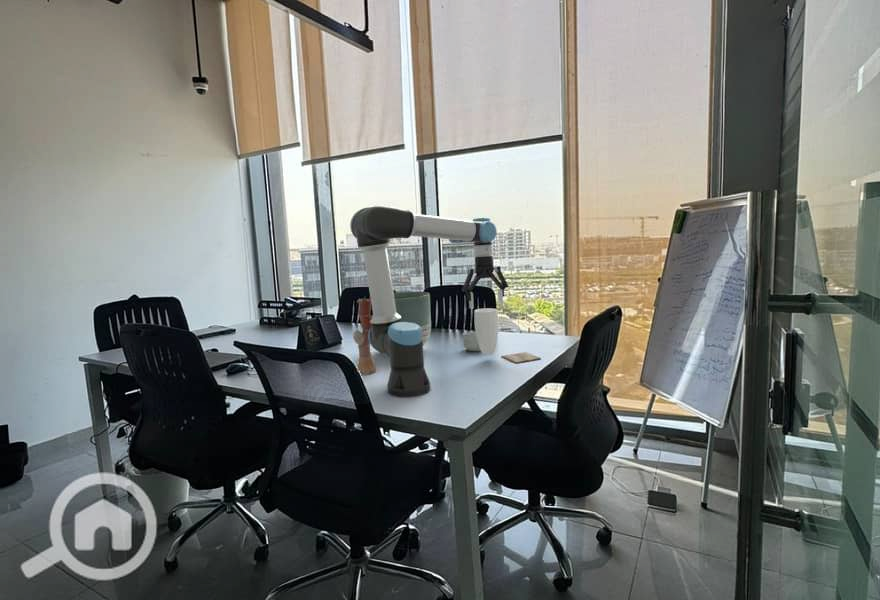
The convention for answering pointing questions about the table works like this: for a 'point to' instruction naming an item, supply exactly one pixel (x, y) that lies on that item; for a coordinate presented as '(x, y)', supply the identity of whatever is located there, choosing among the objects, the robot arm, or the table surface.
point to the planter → (415, 310)
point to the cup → (486, 329)
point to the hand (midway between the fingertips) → (486, 306)
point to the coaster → (520, 357)
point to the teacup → (470, 341)
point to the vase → (364, 339)
